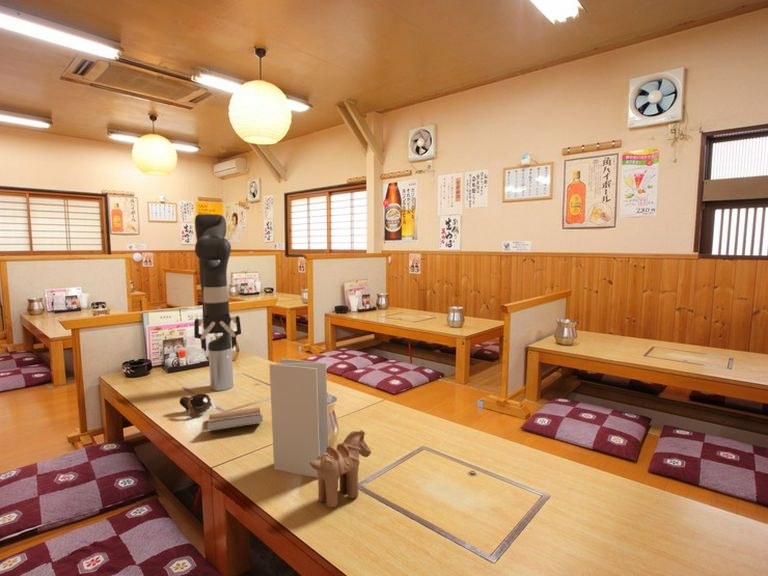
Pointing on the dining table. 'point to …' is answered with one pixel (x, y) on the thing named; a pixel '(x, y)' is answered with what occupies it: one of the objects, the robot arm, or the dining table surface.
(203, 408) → the pottery mug
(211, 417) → the glossy brown slab
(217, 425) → the slate plank
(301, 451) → the brochure
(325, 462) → the figurine
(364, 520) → the dining table surface
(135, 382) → the dining table surface
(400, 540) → the dining table surface
